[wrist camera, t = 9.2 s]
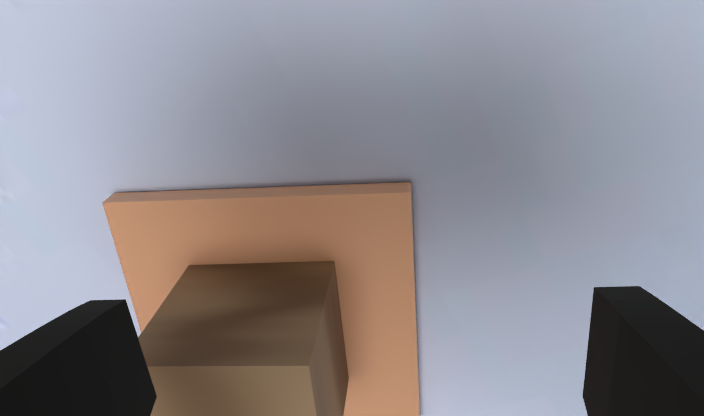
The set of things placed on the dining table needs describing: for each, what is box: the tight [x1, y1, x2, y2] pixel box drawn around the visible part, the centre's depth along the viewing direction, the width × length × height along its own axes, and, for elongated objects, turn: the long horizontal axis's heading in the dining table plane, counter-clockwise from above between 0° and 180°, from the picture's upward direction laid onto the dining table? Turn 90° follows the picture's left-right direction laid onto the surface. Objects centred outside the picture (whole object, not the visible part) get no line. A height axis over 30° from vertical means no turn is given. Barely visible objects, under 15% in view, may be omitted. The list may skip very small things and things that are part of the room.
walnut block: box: [138, 261, 349, 416], centre depth 17 cm, size 5×5×5 cm
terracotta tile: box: [103, 182, 420, 416], centre depth 20 cm, size 10×10×1 cm
